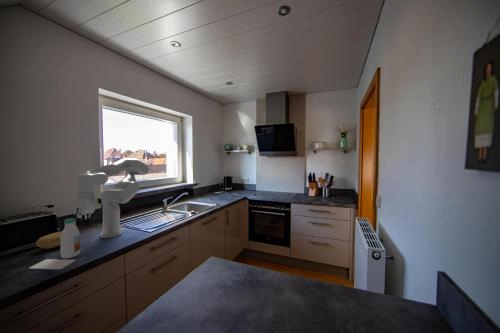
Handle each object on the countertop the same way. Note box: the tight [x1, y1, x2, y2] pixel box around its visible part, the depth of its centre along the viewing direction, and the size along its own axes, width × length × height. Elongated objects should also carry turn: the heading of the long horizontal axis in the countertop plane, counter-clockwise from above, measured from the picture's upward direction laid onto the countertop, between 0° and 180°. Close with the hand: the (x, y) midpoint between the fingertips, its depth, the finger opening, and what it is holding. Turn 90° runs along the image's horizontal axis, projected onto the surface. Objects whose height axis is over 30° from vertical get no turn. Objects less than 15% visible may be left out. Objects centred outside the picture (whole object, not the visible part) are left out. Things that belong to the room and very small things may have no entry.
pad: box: [28, 258, 76, 270], centre depth 96 cm, size 8×15×1 cm, turn 91°
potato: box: [35, 231, 62, 250], centre depth 114 cm, size 10×14×8 cm
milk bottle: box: [60, 217, 81, 260], centre depth 105 cm, size 8×8×20 cm
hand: (85, 225), depth 115 cm, fingers closed
